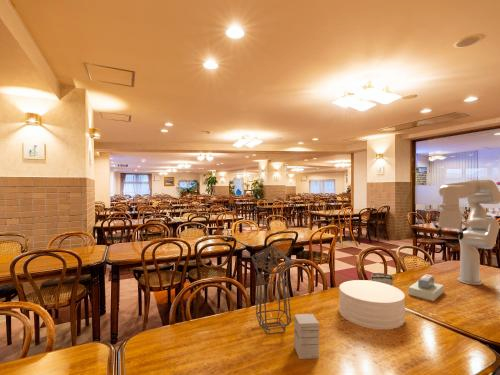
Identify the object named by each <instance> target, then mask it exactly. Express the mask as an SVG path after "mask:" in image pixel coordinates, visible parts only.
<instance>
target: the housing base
mask: <svg viewBox="0 0 500 375" xmlns="http://www.w3.org/2000/svg"><path fill="white" fill-rule="evenodd" d="M417 281H418V287H420V288H424V289H428V290H429V289H430V288H431V287H433V286H434V283H435V277H433V278H432V279H431V280H430V281H429V282H427V281H423V280H421V277H420V278H419V279H418V280H417Z"/></svg>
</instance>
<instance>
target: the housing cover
mask: <svg viewBox="0 0 500 375" xmlns="http://www.w3.org/2000/svg"><path fill="white" fill-rule="evenodd" d="M420 278H421V280H423V281H427V282H429V281H430V280H431V279H432V278H434V275H433V274H427V273H425V274H423V275H422V276H421V277H420Z"/></svg>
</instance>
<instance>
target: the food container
mask: <svg viewBox="0 0 500 375" xmlns="http://www.w3.org/2000/svg"><path fill="white" fill-rule="evenodd" d="M370 280H371V281H375V282H381V283H385V284H388V285H391V286H393V281H395V279H394V276H393V275H391V274H388V273H383V272H374V273H371V275H370Z"/></svg>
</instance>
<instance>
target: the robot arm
mask: <svg viewBox="0 0 500 375" xmlns="http://www.w3.org/2000/svg"><path fill="white" fill-rule="evenodd" d="M438 191H439V195H440V197H441V198H442V204H440V205H439V208H441V209H440V213H439V219H437V220H434V221H432V224H433V226H434V228H436V229H437V235H438V238H442V237H443V228H445V229H455V230H458V231H459V232H458V233H459V234H458V241H459V246H460V253H459V254H460V255H459V257H460V259H459V261H460V262H459V265H460V267H459V269H460V270H459V276H457V277H456V280H457V281H458V282H460V283H463V284H467V285H474V286H480V285H481V286H482V285H483V283H484V282H483V281H482V280H481V279H480V266H481V265H480V262H481V261H480V257H481V255H480V253H479V250H478V249H477V248H479V249H485V250H492V249H493V248H494V247H495V245H496V241H497V237H498V233H499V229H500V223H499V221H498V220H497V219H496V218H494V217H487V215H488V212H487V210H486V209H485V208H484V207H483V206H482V205H481V204H483V205H499V204H500V190H499V187H498V186H497V184H496V183H495V182H494V181H493V180H491V179H471V180H467V181H462V182H454V183H446V184H443V185H441V186H440V188H439V189H438ZM466 198H467V199H466ZM460 199H466V200H467V203H468V207H469V209H470V210H469V214H468V217H467V220H466V222H465V221H463V219H462V212H461V210H460ZM437 223H438V224H437ZM463 226H465V227H463Z"/></svg>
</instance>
